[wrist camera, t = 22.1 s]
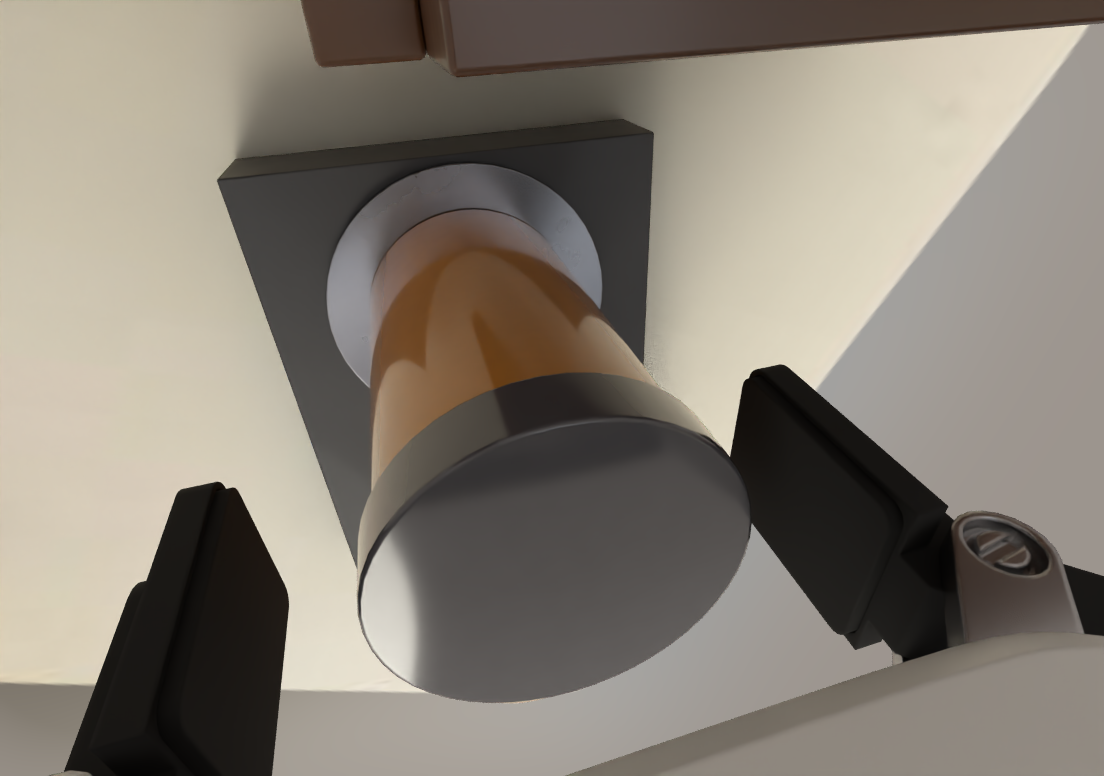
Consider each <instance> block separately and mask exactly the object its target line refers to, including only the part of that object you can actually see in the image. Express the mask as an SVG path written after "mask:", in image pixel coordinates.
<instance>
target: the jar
mask: <svg viewBox="0 0 1104 776" xmlns="http://www.w3.org/2000/svg"><path fill="white" fill-rule="evenodd" d="M370 467H371V494H370V496H369V497H368V499H367V502H366V505H365V508H364V511H363V514H362V517H361V522H360V528H359V535H358V561H357V610H358V618H359V622H360V625H361V629H362V633H363V635H364V637H365V638H366V640H367V642H368V644H369V646H370V648H371V650H372V652H373V653H374V654H375V655H376V657H377V658H378V659H379V660H380V661H381V663H382V664H383V665H384V666H385V667H386V668H388V669H389V670H390V671H391V672H392V673H393V674H395V675H396V676H397V677H399V678H400V679H402V680H404V681H405V682H407V683H409V684H411V685H412V686H414V687H417V688H419V689H422V690H424V691H426V692H429V693H432V694H435V695H439V696H443V697H446V698H450V699H456V700H463V701H468V702H483V703H509V702H520V701H530V700H536V699H542V698H548V697H553V696H557V695H561V694H565V693H569V692H573V691H576V690H579V689H583V688H586V687H589V686H592V685H595V684H597V683H600V682H602V681H605V680H607V679H610V678H612V677H614V676H617V675H619V674H621V673H623V672H625V671H627V670H629V669H631V668H633V667H635V666H637V665H639V664H640V663H642V662H644V661H646V660H647V659H649V658H651V657H653V656H654V655H656V654H657V653H659V652H660V651H662V650H663V649H665V648H666V647H668V646H669V645H671V644H672V643H673V642H675V641H676V640H677V639H679V638H680V637H681V636H682V635H683V634H685V633H686V632H687V631H689V630H690V629H691V628H692V627H693V626H694V625H695V624H696V623H697V622H698V621H699V620H700V619H701V618H703V617H704V616H705V614H706V613H707V612H708V611H709V610H710V609H711V608H712V607H713V606H714V604H715V603H716V602H717V601H718V600H719V598H720V597H721V596H722V594H723V593H724V592H725V590H726V589H727V588H728V586H729V585H730V583H731V581H732V580H733V578H734V576H735V574H736V573H737V571H738V569H739V567H740V564H741V562H742V559H743V557H744V555H745V553H746V549H747V546H748V542H749V538H750V532H751V524H752V513H751V501H750V497H749V493H748V489H747V485H746V483H745V481H744V478H743V476H742V474H741V472H740V470H739V468H738V467H737V466H736V465H735V463H734V462H733V461H732V459H731V458H730V457H729V456H728V454H727V453H726V452H725V450H724V449H723V448H722V447H721V446H720V444H719V443H718V442H717V441H716V439H715V438H714V437H713V436H712V434H711V433H710V432H709V431H708V429H707V428H706V427H705V426H704V424H703V423H702V422H701V421H700V419H699V418H698V417H697V416H696V415H695V413H694V412H693V411H691V410H690V409H689V408H688V407H687V406H686V405H685V404H684V403H682V402H681V401H680V400H679V399H677V398H675V397H674V396H672V395H670V394H669V393H667V392H666V391H664V390H662V389H661V388H660V387H659V385H658V384H657V383H656V382H655V380H654V379H653V378H652V376H651V375H650V374H649V372H648V371H647V370H646V369H645V367H644V366H643V365H642V363H641V362H640V361H639V359H638V358H637V357H636V356H635V354H634V353H633V352H632V350H631V349H630V348H629V346H628V345H627V344H626V343H625V341H624V340H623V339H622V337H621V336H620V335H619V333H618V332H617V331H616V330H615V328H614V327H613V326H612V324H611V323H610V322H609V320H608V319H607V318H606V317H605V315H604V314H603V313H602V311H601V310H600V309H599V307H598V306H597V305H596V304H595V302H594V301H593V300H592V298H591V297H590V296H589V294H588V293H587V292H586V291H585V289H584V288H583V287H582V285H581V284H580V283H579V281H578V280H577V279H576V278H575V276H574V275H573V274H572V272H571V271H570V270H569V268H568V267H567V266H566V265H565V263H564V262H563V261H562V259H561V258H560V257H559V256H558V254H557V253H556V252H555V250H554V249H553V248H552V247H551V245H550V244H549V243H548V242H547V240H546V239H545V238H544V237H543V236H541V235H540V234H539V233H538V232H537V231H536V230H534V229H533V228H532V227H530V226H529V225H527V224H526V223H524V222H522V221H520V220H518V219H516V218H514V217H511V216H508V215H505V214H502V213H498V212H493V211H488V210H475V209H473V210H459V211H454V212H449V213H444V214H441V215H438V216H435V217H432V218H430V219H428V220H426V221H424V222H422V223H420V224H418V225H417V226H415V227H414V228H412V229H411V230H409V231H408V232H407V233H405V234H404V235H403V236H402V237H401V238H400V239H399V240H398V241H396V243H395V244H394V245H393V246H392V247H391V249H390V250H389V251H388V252H387V254H386V255H385V257H384V258H383V260H382V262H381V263H380V265H379V267H378V270H377V272H376V274H375V277H374V280H373V284H372V287H371V294H370Z"/></svg>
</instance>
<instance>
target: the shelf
mask: <svg viewBox="0 0 1104 776" xmlns="http://www.w3.org/2000/svg"><path fill="white" fill-rule="evenodd" d="M301 4H302V9H303V13H304V17H305V21H306V25H307V29H308V33H309V37H310V42H311V46H312V50H313V54H314V58H315V61H316V63H317V64H318V66H321V67H337V66H350V65H363V64H376V63H389V62H402V61H414V60H422V59H423V58H425V55H426V53H427V54H428V55H429V57H430V58H431V59H432V60H433V61H434V62H436V63H437V64H438V65H439V66H441V67H442V68H443V69H444V70H446V71H447V72H448V73H449V74H451V75H453V76H456V77H467V76H479V75H491V74H503V73H515V72H527V71H539V70H551V69H563V68H575V67H586V66H598V65H610V64H622V63H634V62H646V61H658V60H670V59H682V58H694V57H706V56H718V55H730V54H742V53H753V52H765V51H777V50H789V49H801V48H813V47H825V46H837V45H849V44H861V43H873V42H885V41H897V40H909V39H920V38H932V37H944V36H956V35H968V34H980V33H992V32H1004V31H1016V30H1028V29H1040V28H1052V27H1064V26H1076V25H1087V24H1099V23H1104V0H301Z"/></svg>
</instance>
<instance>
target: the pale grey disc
mask: <svg viewBox="0 0 1104 776" xmlns="http://www.w3.org/2000/svg"><path fill="white" fill-rule="evenodd" d="M473 209H475V210H488V211H493V212H498V213H502V214H505V215H508V216H511V217H514V218H516V219H518V220H520V221H522V222H524V223H526V224H527V225H529V226H530V227H532V228H533V229H534V230H536V231H537V232H538V233H539V234H540V235H541V236H543V237H544V238H545V239H546V240H547V242H548V243H549V244H550V245H551V247H552V248H553V249H554V250H555V252H556V253H557V254H558V256H559V257H560V258H561V259H562V261H563V262H564V263H565V265H566V266H567V267H568V268H569V270H570V271H571V272H572V274H573V275H574V276H575V278H576V279H577V280H578V281H579V283H580V284H581V285H582V287H583V288H584V289H585V291H586V292H587V293H588V294H589V296H590V297H591V298H592V300H593V301H594V302H595V304H596V305H597V306H598V307H599V309H600V308H601V303H602V289H603V284H602V270H601V265H600V260H599V256H598V252H597V250H596V247H595V244H594V241H593V239H592V237H591V235H590V233H589V231H588V229H587V227H586V225H585V224H584V222H583V221H582V219H581V218H580V217H579V215H578V214H577V213H576V211H575V210H574V209H573V208H572V207H571V206H570V205H569V204H568V203H567V202H566V201H565V200H564V199H563V198H562V197H561V196H560V195H559V194H558V193H557V192H555V191H554V190H553V189H551V188H550V187H549V186H548V185H546V184H545V183H543V182H541V181H539V180H538V179H536V178H534V177H532V176H531V175H529V174H526V173H524V172H521V171H519V170H516V169H513V168H511V167H506V166H502V165H498V164H494V163H486V162H476V161H464V162H449V163H443V164H438V165H432V166H429V167H426V168H423V169H420V170H417V171H414V172H411V173H409V174H407V175H405V176H403V177H401V178H399V179H397V180H395V181H393V182H392V183H390V184H389V185H387V186H386V187H384V188H383V189H381V190H380V191H378V192H377V193H376V194H375V195H373V196H372V197H371V198H370V199H369V200H368V201H367V202H366V203H365V204H364V205H363V206H362V207H361V208H360V209H359V210H358V211H357V213H356V214H355V215H354V216H353V218H352V219H351V220H350V221H349V223H348V224H347V226H346V228H345V229H344V231H343V233H342V234H341V236H340V238H339V240H338V243H337V245H336V247H335V250H334V252H333V255H332V258H331V262H330V266H329V271H328V275H327V286H326V306H327V315H328V320H329V324H330V329H331V332H332V334H333V337H334V340H335V342H336V345H337V347H338V349H339V351H340V352H341V354H342V356H343V358H344V360H345V361H346V362H347V364H348V365H349V366H350V368H351V369H352V370H353V372H354V373H355V374H356V375H357V376H358V377H359V378H360V379H361V380H362V381H363V382H364V383H365V384H366V385H367V386H368V387H369V388H370V294H371V287H372V284H373V280H374V277H375V274H376V272H377V270H378V267H379V265H380V263H381V262H382V260H383V258H384V257H385V255H386V254H387V252H388V251H389V250H390V249H391V247H392V246H393V245H394V244H395V243H396V241H398V240H399V239H400V238H401V237H402V236H403V235H404V234H405V233H407V232H408V231H409V230H411V229H412V228H414V227H415V226H417V225H418V224H420V223H422V222H424V221H426V220H428V219H430V218H432V217H435V216H438V215H441V214H444V213H449V212H454V211H459V210H473Z"/></svg>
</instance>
